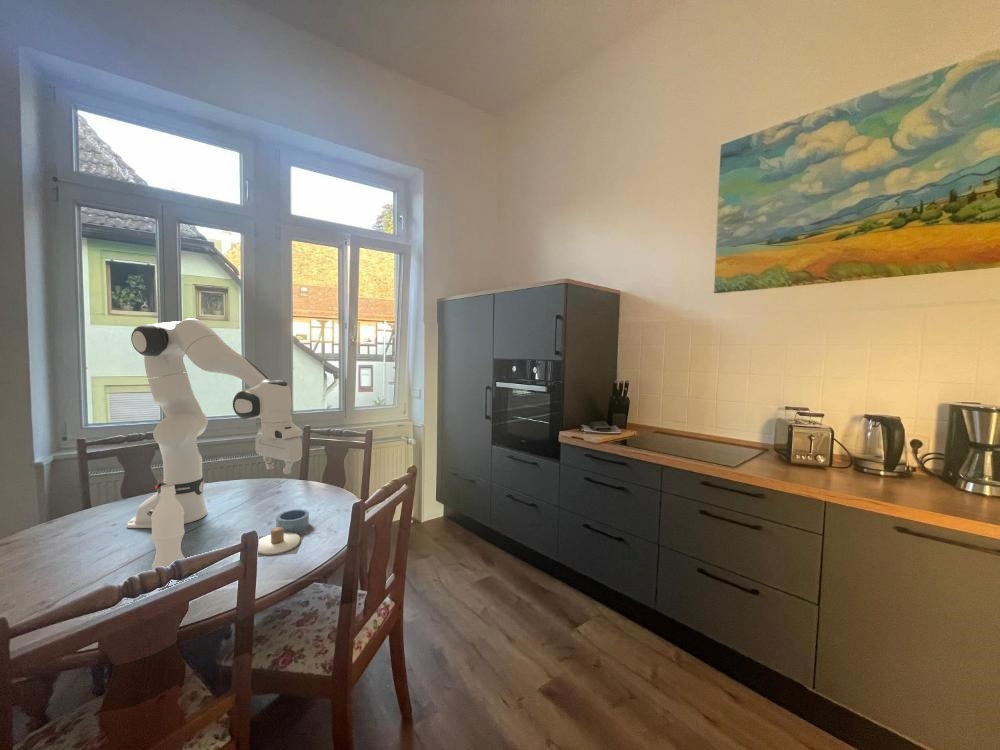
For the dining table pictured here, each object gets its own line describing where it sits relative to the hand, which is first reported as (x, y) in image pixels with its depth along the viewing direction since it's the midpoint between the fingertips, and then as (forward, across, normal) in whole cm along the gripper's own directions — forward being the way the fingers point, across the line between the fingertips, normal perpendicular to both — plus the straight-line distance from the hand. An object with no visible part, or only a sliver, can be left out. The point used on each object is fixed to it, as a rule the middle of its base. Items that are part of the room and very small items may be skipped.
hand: (278, 470), depth 131 cm
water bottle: (+23, -8, -28) cm, 37 cm away
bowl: (+24, -5, +8) cm, 26 cm away
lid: (+23, +2, -3) cm, 23 cm away
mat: (+24, +2, -3) cm, 24 cm away
